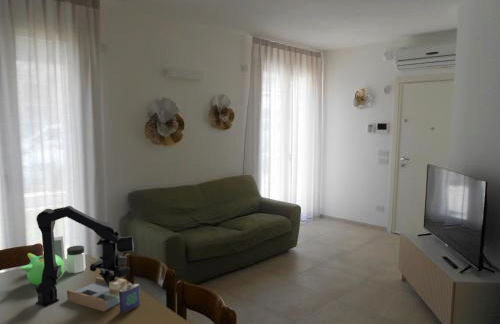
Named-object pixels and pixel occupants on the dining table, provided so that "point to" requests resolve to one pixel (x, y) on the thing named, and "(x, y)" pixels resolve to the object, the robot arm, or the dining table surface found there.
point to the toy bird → (39, 268)
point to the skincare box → (59, 247)
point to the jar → (75, 259)
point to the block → (117, 286)
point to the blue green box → (129, 298)
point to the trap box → (94, 296)
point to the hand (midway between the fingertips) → (110, 287)
